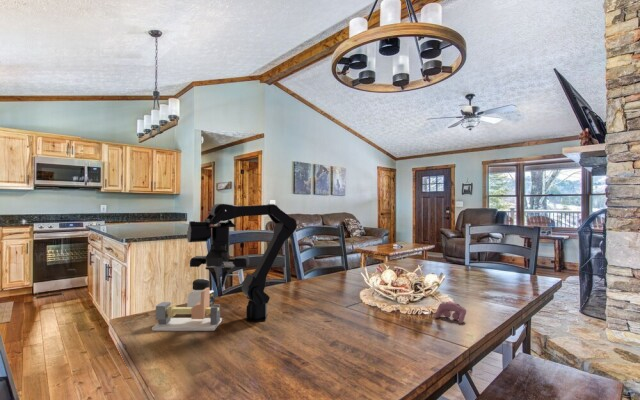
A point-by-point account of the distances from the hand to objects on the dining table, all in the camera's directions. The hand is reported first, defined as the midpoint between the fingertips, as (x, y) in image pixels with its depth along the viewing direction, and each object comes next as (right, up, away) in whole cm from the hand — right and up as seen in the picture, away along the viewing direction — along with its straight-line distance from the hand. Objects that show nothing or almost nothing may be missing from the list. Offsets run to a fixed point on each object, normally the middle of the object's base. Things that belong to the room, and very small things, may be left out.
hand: (220, 286), depth 112 cm
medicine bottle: (-12, -13, +15) cm, 23 cm away
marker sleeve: (-6, -10, 0) cm, 12 cm away
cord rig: (-11, -13, 0) cm, 17 cm away
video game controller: (+81, -14, +8) cm, 83 cm away
